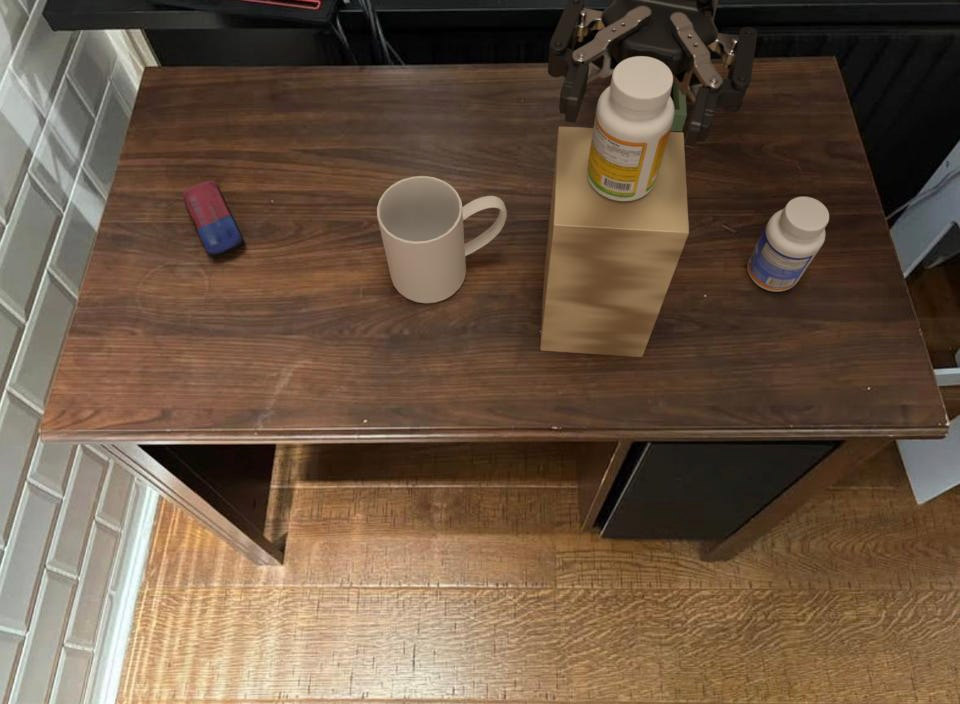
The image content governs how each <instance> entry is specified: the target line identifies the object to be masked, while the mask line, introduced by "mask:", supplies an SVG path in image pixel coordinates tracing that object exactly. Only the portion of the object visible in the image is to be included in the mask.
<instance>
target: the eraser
mask: <svg viewBox="0 0 960 704" xmlns="http://www.w3.org/2000/svg"><path fill="white" fill-rule="evenodd" d="M182 197H183V201H184V204H185V207H186V209H187V211H188V213H189V215H190V218H191V219H192V221H193V224H194V226H195V229H196V232H197V233H198V235H199V238H200V240H201V242H202V244H203V246H204V249H205V251H206V252H207V254H208V256H209V257H210V258H211V259H212V260H217V259H219V258H222V257H224V256H227V255H229V254H231V253H233V252H235V251H237V250H240V249H242V248H243V247H244V246H245V245H246V242H245V239H244V236H243V234H242V231H241V229H240V227H239V225H238V223H237V222H236V220H235V217H234V215H233V214H232V212H231V210H230V207H229V205H228V204H227V201H226V200H225V198H224V195H223V193H222V190H221V188H220V186H219V184H217V182H216V181H214V180H206V181H203V182H201V183H198V184H195V185H193V186H190V187H188V188H187V189H185V190H184V192H183V193H182Z"/></svg>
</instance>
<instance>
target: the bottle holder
mask: <svg viewBox="0 0 960 704" xmlns="http://www.w3.org/2000/svg"><path fill="white" fill-rule="evenodd" d="M672 94H673V96H672V97H673V98H672V100H673V103H674V108H675V114H674V119H673V123H672V127H671V131H670V132H683V129H684V126H685V123H686V120H687V116H688V111H687V95H683V94H682V93H681V91H680V90H679V88H678V87H677V85H676V84H675V82H674V81H673V84H672Z"/></svg>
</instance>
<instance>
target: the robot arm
mask: <svg viewBox="0 0 960 704" xmlns="http://www.w3.org/2000/svg"><path fill="white" fill-rule="evenodd" d="M718 4H719V0H613V2H611V4H610V5H608V6H607V7H606V8H604V9H603V11H602V10H596V9H591V8H587V7H585V0H567V2H566V4H565V7H564V8H563V11H562V13H561V16H560V18H559V21H558V23H557V26H556V28H555V30H554V31H553V34H552V37H551V39H550V40H549V49H548V62H547V73H548V75H549V76H551V77H552V78H559V77H563V78H564V80H563V83H562V87H561V89H560V94H559V105H558V108H559V109H558V110H559V113H560V114H563V115H565V117H564V122H566V123H570V124H576V122H577V119H578V116H579V112H580V110H581V107H582V103H583V101H584V97H585V94H586V92H587V87H588V85H589V84H590V83H592V82H594V81H596V80H597V79H599V78H600V79H601V80H605V79H608V78H609V77H610V76H611V77H612V75H613V71H614V69H615V67H616V66H617V65H618V64H619V63H620V62H622V61H623V60H625V59H628V58H631V57H636V56H646V57H651V58H655V59H657V60H659V61H661V62H663V63H664V64H665V65H667V66H668V68H669V69H670V70H671V72H672V75H673V81H674V82H675V84H676V85H677V87H678V88H679V90H680V91H681V93H682V94H683V95H686V96H688V97H689V99H690V101H691V102H692V103H693V106H692V110H691V114H690V118H689V123H688V127H687V131H686V135H685V138H684V148H689V149H695V147H696V144H697V142H700V143H704V142H706V140H707V139H708V137H709V134H710V132H711V128H712V125H713V123H714V118H715V115H716V110H718V109H721V108H724V110H725V111H727V112H729V113H737V112H739V111H740V110H741V108H742V105H743V101H744V98H745V96H746V93H747V90H748V89H749V87H750V84H751V81H752V75H753V70H754V69H753V67H754V61H755V54H756V53H755V52H756V48H757V47H756V46H757V39H758V31H757V30H756V29H755V28H753V27H751V26H744V27H742V28H741V29H740V30H739V33H738V35H736V34H730V33H724V32H719V31H718V28H717V26H716V24H715V22H714V21H715V17H716V12H717V8H718ZM592 31H597V33H596V34H595V35H594V38H593V39H592V40H591V41H589V42H587V43H586V44H584V45H582V46H580V47H578V48H577V49H575V47H576V44H577V42H579V43H581V42H584V39H585V37H587V36H589V34H590V33H591V32H592ZM713 52H714V53H717V54H718V56H719V57H720V61H721V62H722V63H723V66H722V68H723V69H724V70H728V73H727V78H723V77H722V76H721V75H720V73H719V72H718V71H717V68H716V67H715V66H714V64H713V63H712V60H711V58H712V57H711V54H713Z"/></svg>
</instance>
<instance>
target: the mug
mask: <svg viewBox="0 0 960 704" xmlns="http://www.w3.org/2000/svg"><path fill="white" fill-rule="evenodd" d="M487 209H498V210H499V213H498V216H497V218H496V219H495V221H494V223H493V224H492V225H491V226H490V227H488V228H487V229H485V231H484V232H482V233H480V234H479V235H478V236H476V237H474V238H473V239H471V240H470V241H467V242H466V243H465V231H464V229H465V228H464V220H466V219H468V218H469V217H471V216H472V215H474V214H476V213H478V212H480V211H483V210H487ZM507 217H508V210H507V207H506V204H505V201H503V200H502V199H501V198H500V197H498V196H495V195H486V196H481V197H478V198H476V199H473V200H471V201H470V202H468V203H466V204H465V205H463V201H462V198H461V197H460V195H459V193H458V191H457V190H456V189H455V188H454V187H453V185H451V184H449V183H448V182H446V181H445V180H443V179H440V178H437V177H435V176H429V175H428V176H427V175H417V176H416V175H415V176H410V177H406V178H403V179H400V180H399V181H397V182H394V183H393V184H392V185H390V186H389V187H388V188H387V189H386V190H384V191H383V194H382V195H381V197H380V198H379V200H378V203H377V206H376V218H377V223H378V227H379V231H380V235H381V236H380V237H381V240H382V246H383V248H384V253H385V254H384V255H385V258H386V263H387V265H388V266H387V267H388V271H389V276H390V279H391V282H392V284H393V286H394V288H395V289H396V290H397V292H398V293H399V294H400V295H401V296H403V297H404V298H406V299H408V300H409V301H412V302H415V303H421V304H435V303H439V302H442V301H444V300H447V299H448V298H450V297H452V296H453V295H454V294H455V293H456V292H457V291H458V290H460V288H461V287H462V285H463V283H464V281H465V278H466V274H467V263H466V257H467V256H468V255H470V254H472V253H474V252H476V251H478V250H480V249H482V248H483V247H485V246H486V245H487V244H489V243H490V242H491V241H493V240H494V239H495V238H496V237H498V235H499V234H500V233H501V232H502V230H503V229H504V226H505V224H506V221H507Z"/></svg>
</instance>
